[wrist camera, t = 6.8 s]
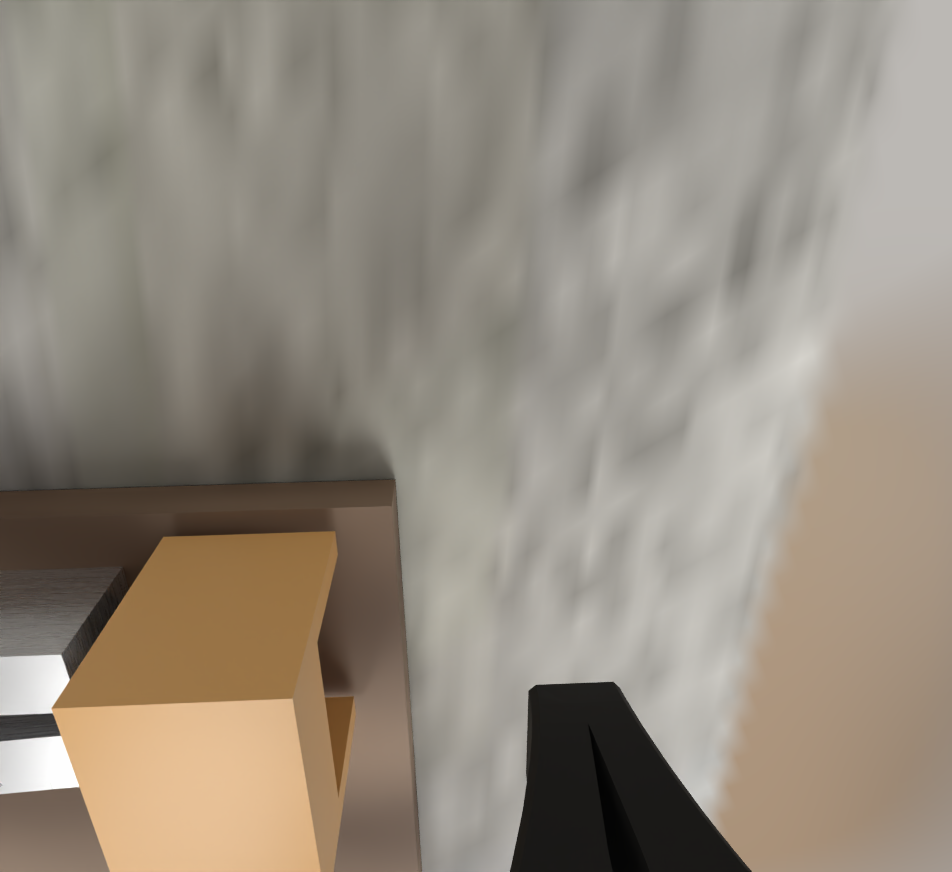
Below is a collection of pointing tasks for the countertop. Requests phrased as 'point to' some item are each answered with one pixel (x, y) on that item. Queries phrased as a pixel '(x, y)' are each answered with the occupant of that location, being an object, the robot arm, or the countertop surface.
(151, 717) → the collar
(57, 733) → the tong arm
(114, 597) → the tong board
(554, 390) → the countertop surface
